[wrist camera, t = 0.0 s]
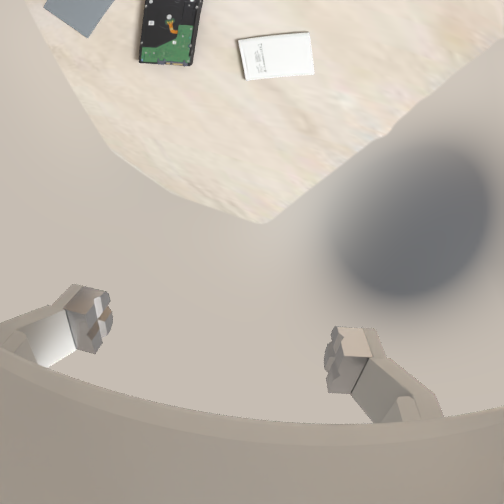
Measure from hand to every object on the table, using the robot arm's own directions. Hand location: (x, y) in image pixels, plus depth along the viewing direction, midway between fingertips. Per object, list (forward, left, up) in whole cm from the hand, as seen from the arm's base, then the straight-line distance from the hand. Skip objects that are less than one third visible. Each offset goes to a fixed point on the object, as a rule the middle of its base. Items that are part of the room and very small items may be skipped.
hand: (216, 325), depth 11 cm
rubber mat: (+13, -41, -52) cm, 68 cm away
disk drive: (+7, -19, -53) cm, 57 cm away
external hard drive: (-2, -1, -53) cm, 53 cm away
